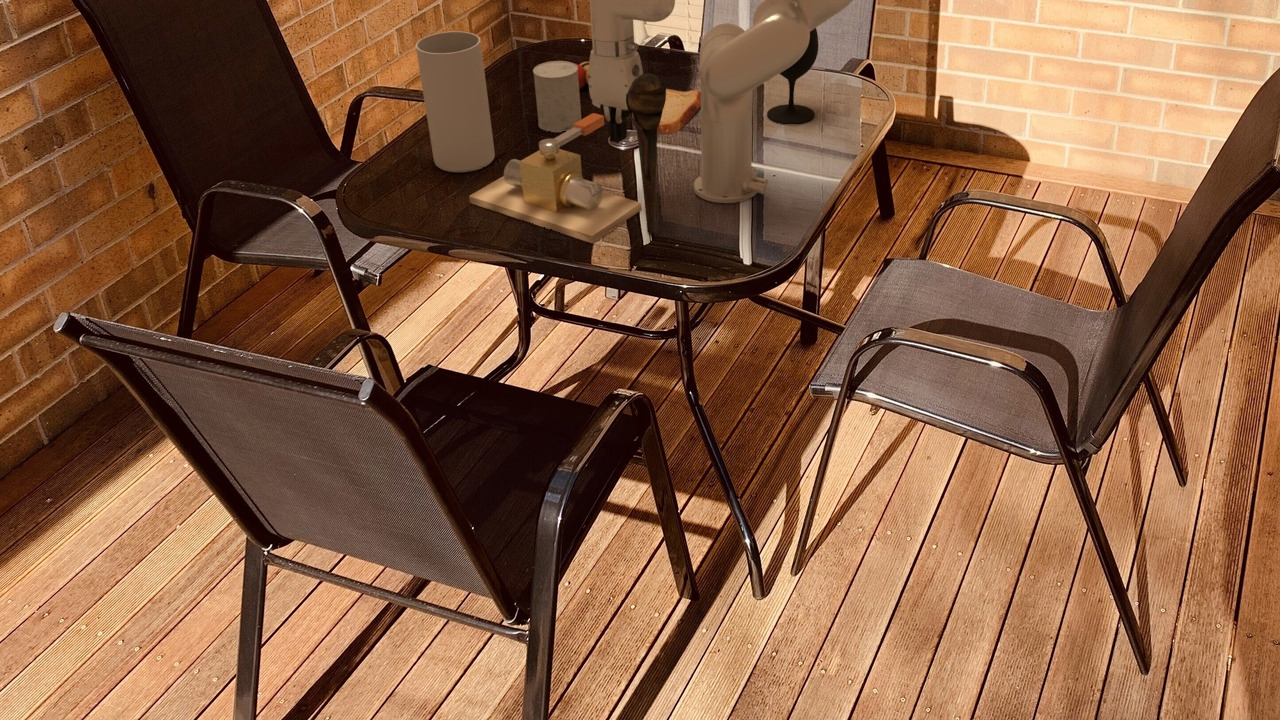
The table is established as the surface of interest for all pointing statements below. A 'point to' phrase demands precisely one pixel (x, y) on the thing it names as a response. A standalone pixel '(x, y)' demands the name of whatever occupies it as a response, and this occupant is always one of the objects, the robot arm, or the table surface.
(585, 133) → the valve lever
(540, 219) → the mounting board
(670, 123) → the bread slice
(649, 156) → the decorative torch
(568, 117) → the grey stone cylinder
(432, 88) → the cylinder vase
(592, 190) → the valve body
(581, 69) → the kendama
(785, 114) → the wine glass
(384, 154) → the table surface
